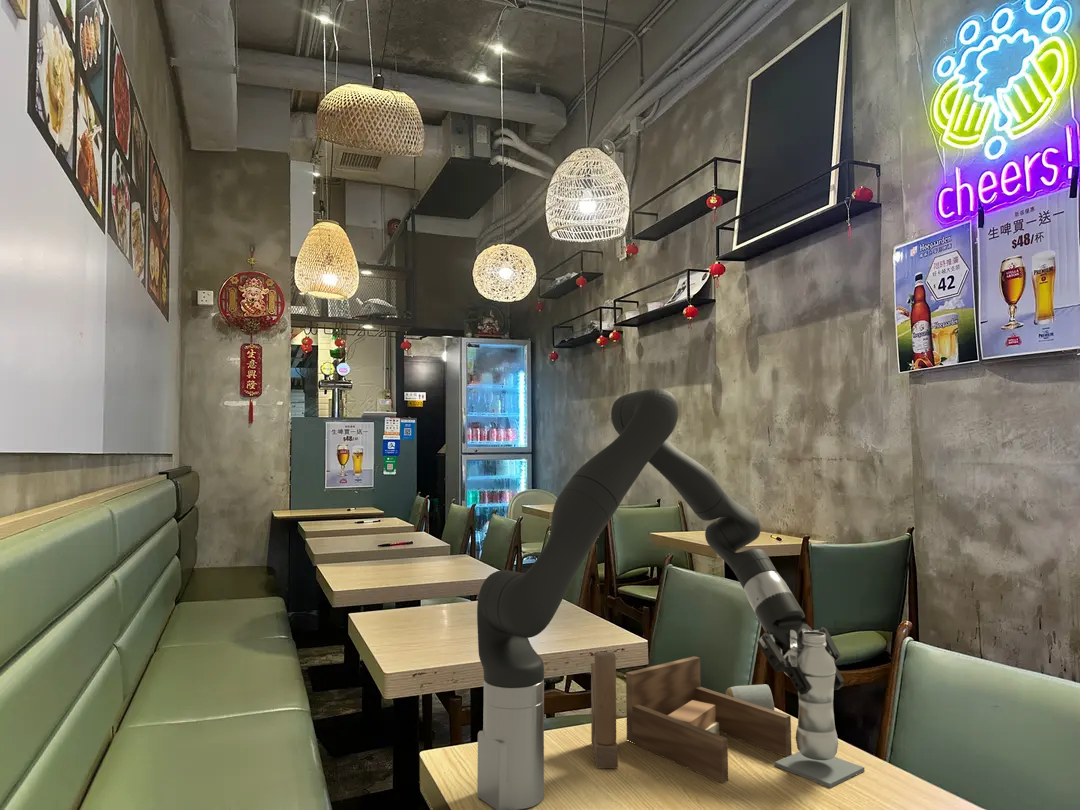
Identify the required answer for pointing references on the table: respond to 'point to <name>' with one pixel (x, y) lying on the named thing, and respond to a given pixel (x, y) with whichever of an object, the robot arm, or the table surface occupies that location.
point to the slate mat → (820, 769)
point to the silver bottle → (816, 700)
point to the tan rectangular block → (698, 715)
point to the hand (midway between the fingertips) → (823, 689)
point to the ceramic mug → (753, 694)
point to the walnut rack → (685, 743)
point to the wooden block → (604, 710)
